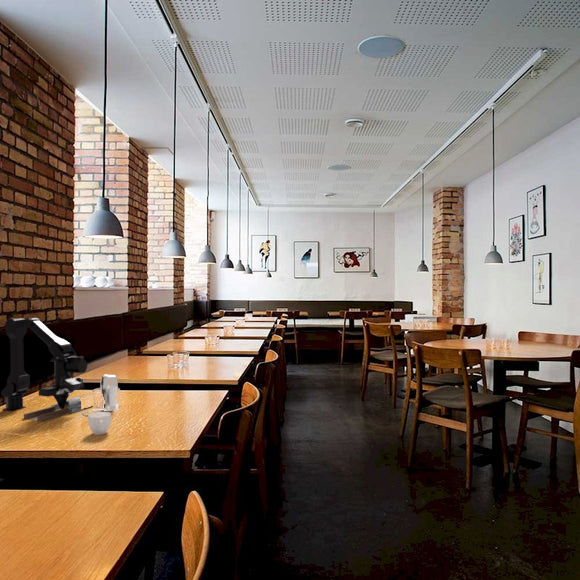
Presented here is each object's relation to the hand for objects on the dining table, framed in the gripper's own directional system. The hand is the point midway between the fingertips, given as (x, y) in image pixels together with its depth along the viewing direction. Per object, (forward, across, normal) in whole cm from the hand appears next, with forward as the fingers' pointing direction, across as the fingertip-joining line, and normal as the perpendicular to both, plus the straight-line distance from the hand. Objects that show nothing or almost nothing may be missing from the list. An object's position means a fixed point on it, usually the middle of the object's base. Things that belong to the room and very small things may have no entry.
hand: (62, 408), depth 202 cm
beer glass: (+2, +10, -16) cm, 19 cm away
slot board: (+2, -2, 0) cm, 2 cm away
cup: (+2, -16, -37) cm, 41 cm away
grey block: (+1, +8, 0) cm, 8 cm away
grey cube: (+1, +4, 0) cm, 4 cm away
